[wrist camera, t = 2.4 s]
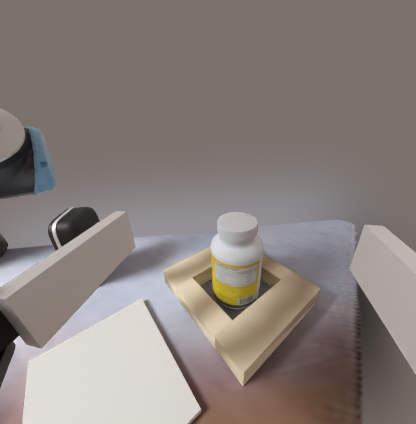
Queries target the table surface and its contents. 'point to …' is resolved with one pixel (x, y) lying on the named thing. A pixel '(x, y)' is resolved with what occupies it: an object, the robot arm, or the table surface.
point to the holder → (250, 318)
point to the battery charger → (71, 225)
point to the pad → (110, 377)
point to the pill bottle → (236, 260)
